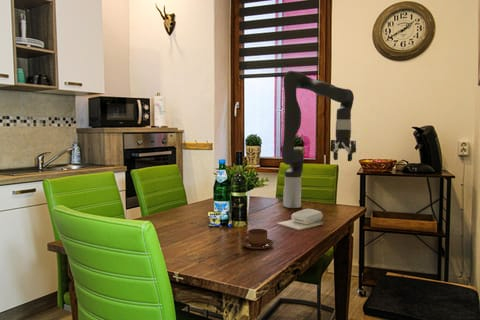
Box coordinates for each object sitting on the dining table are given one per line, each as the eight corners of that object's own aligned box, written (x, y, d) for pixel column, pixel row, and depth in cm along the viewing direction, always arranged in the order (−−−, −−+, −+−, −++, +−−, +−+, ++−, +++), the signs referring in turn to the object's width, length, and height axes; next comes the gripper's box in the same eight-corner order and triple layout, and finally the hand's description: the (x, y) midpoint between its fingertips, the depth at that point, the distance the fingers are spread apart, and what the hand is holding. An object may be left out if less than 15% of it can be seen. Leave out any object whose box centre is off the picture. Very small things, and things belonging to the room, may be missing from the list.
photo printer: (306, 215, 199) (289, 222, 191) (306, 207, 199) (289, 213, 191) (323, 219, 192) (306, 226, 184) (322, 211, 191) (305, 217, 183)
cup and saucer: (251, 253, 147) (251, 237, 146) (236, 244, 158) (236, 229, 157) (279, 248, 153) (279, 232, 152) (263, 240, 163) (263, 225, 163)
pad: (277, 223, 190) (277, 221, 190) (300, 218, 200) (300, 216, 199) (298, 230, 179) (298, 227, 179) (322, 224, 189) (322, 221, 188)
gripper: (327, 128, 207) (326, 160, 209) (350, 128, 196) (349, 162, 198) (336, 128, 212) (336, 159, 213) (359, 128, 201) (358, 161, 202)
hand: (342, 160), depth 206 cm, fingers open, 8 cm apart
